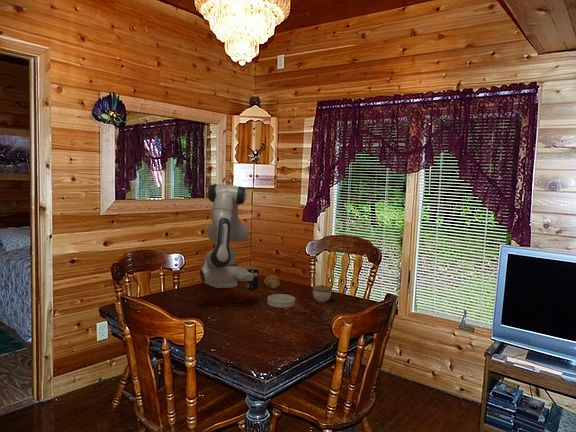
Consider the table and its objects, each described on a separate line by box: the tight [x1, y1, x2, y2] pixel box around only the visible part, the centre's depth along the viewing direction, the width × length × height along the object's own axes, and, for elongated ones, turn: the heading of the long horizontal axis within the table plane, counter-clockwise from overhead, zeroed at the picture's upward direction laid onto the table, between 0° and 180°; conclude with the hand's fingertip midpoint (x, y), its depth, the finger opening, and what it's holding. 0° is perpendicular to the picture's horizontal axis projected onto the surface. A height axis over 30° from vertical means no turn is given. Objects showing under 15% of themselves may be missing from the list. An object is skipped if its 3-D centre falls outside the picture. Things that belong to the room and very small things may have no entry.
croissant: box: [263, 274, 281, 290], centre depth 269 cm, size 21×10×8 cm, turn 9°
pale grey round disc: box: [266, 293, 296, 308], centre depth 232 cm, size 15×15×3 cm
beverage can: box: [245, 266, 260, 292], centre depth 229 cm, size 7×7×12 cm
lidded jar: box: [312, 284, 332, 303], centre depth 240 cm, size 11×11×9 cm
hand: (254, 272), depth 230 cm, fingers closed on beverage can, 6 cm apart
